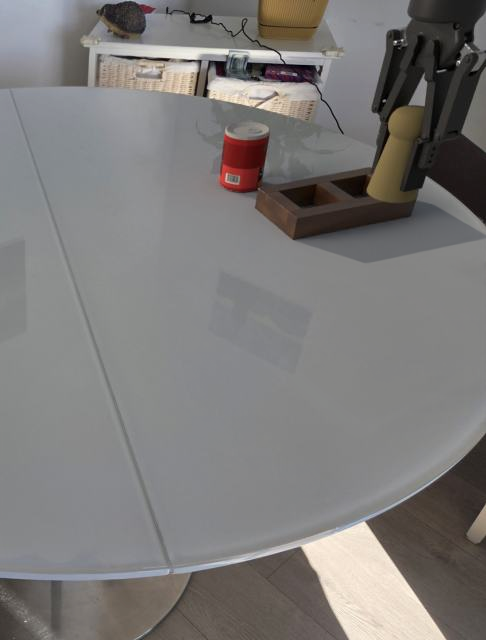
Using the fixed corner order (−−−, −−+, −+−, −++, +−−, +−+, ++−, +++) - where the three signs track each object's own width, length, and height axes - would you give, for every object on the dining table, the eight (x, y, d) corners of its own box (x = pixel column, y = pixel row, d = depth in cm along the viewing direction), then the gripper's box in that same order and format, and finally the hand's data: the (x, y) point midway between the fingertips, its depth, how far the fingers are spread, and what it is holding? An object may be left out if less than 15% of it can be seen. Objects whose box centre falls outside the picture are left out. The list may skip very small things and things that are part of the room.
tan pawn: (393, 207, 81) (420, 120, 74) (356, 190, 85) (377, 106, 78) (428, 195, 82) (457, 109, 76) (390, 178, 87) (413, 96, 80)
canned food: (266, 191, 121) (276, 134, 114) (224, 194, 122) (231, 138, 115) (254, 174, 127) (263, 119, 120) (214, 177, 127) (220, 123, 121)
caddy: (411, 216, 110) (418, 194, 108) (292, 239, 107) (297, 218, 104) (364, 186, 120) (370, 166, 117) (254, 207, 117) (258, 187, 114)
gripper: (369, -31, 75) (327, 160, 89) (492, -5, 61) (419, 215, 75) (425, -39, 76) (375, 151, 90) (559, -16, 62) (474, 203, 76)
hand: (395, 180), depth 83 cm, fingers closed on tan pawn, 5 cm apart
